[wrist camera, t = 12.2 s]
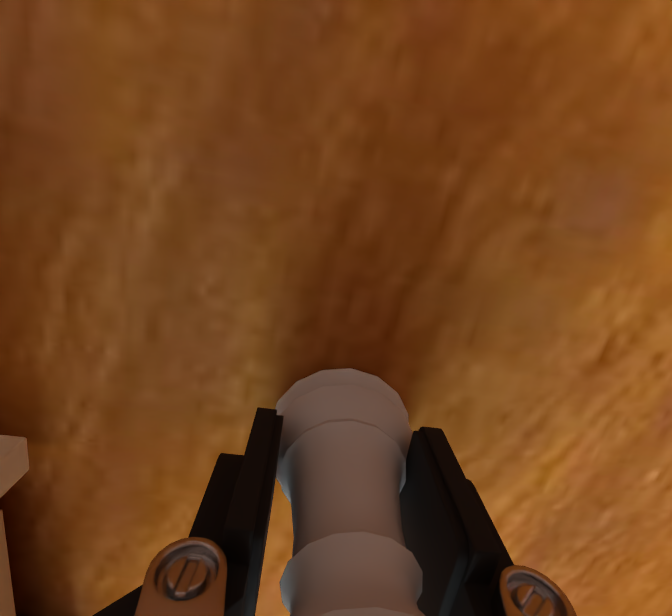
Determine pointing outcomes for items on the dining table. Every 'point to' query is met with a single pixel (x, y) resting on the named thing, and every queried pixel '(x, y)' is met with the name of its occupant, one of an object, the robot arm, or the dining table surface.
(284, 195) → the dining table surface
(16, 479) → the drawer
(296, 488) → the rook chess piece
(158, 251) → the dining table surface
